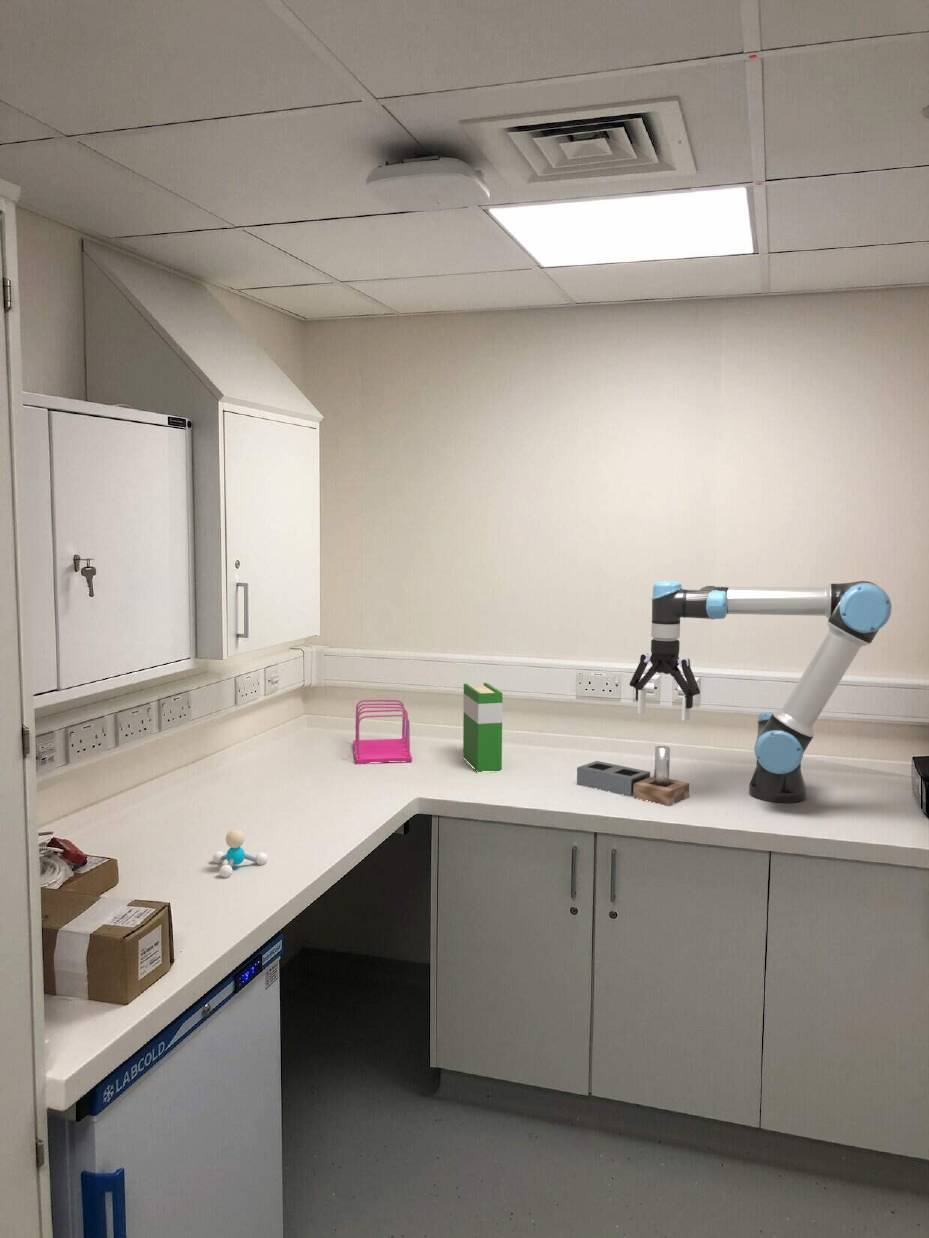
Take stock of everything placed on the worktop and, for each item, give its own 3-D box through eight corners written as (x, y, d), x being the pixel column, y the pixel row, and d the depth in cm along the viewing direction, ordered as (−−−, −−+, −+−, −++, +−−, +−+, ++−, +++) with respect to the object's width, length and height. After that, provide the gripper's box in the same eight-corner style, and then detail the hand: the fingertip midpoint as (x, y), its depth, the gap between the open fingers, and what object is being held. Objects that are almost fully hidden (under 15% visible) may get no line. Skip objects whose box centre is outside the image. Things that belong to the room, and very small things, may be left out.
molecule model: (237, 883, 204) (237, 842, 203) (191, 874, 209) (191, 834, 208) (270, 864, 215) (269, 825, 214) (226, 856, 220) (225, 818, 219)
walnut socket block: (689, 797, 267) (689, 782, 266) (668, 806, 259) (669, 791, 258) (654, 789, 274) (654, 775, 274) (633, 797, 266) (633, 783, 265)
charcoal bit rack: (649, 789, 274) (650, 771, 274) (631, 796, 267) (631, 779, 266) (596, 777, 286) (596, 760, 286) (576, 784, 279) (577, 767, 278)
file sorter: (405, 743, 327) (405, 697, 325) (412, 762, 302) (412, 713, 300) (353, 745, 324) (352, 699, 322) (355, 764, 299) (355, 714, 298)
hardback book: (463, 758, 307) (463, 683, 304) (485, 757, 309) (486, 682, 306) (477, 773, 290) (478, 693, 287) (501, 771, 292) (502, 692, 289)
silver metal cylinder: (671, 797, 266) (672, 747, 265) (664, 800, 263) (665, 750, 262) (658, 794, 269) (659, 745, 268) (651, 797, 266) (652, 747, 265)
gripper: (714, 641, 256) (711, 721, 258) (632, 633, 273) (631, 708, 275) (700, 644, 251) (698, 725, 253) (618, 636, 267) (616, 712, 269)
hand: (663, 716), depth 264 cm, fingers open, 13 cm apart
